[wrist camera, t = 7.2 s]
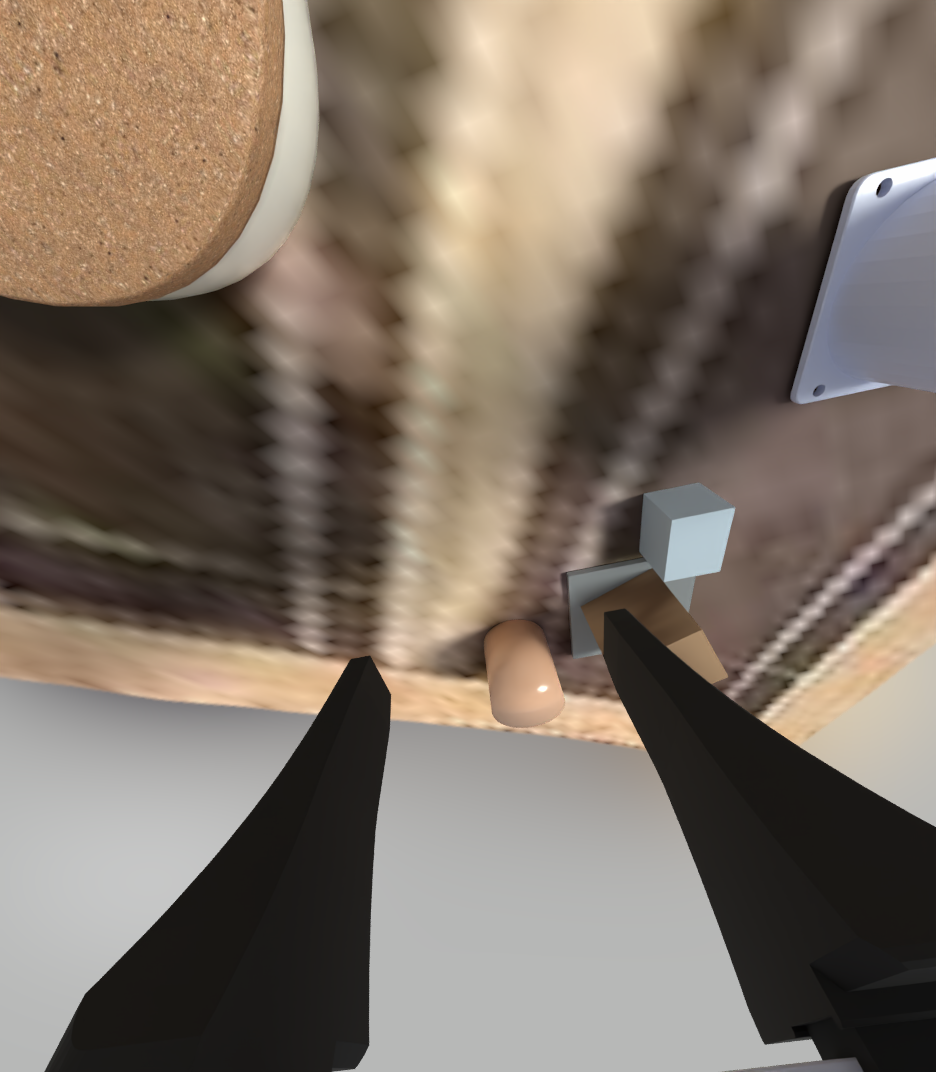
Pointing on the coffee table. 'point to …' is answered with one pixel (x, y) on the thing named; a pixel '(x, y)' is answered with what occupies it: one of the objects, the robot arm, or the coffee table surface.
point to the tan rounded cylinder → (521, 675)
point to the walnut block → (658, 621)
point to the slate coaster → (601, 581)
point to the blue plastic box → (684, 531)
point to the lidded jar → (150, 144)
